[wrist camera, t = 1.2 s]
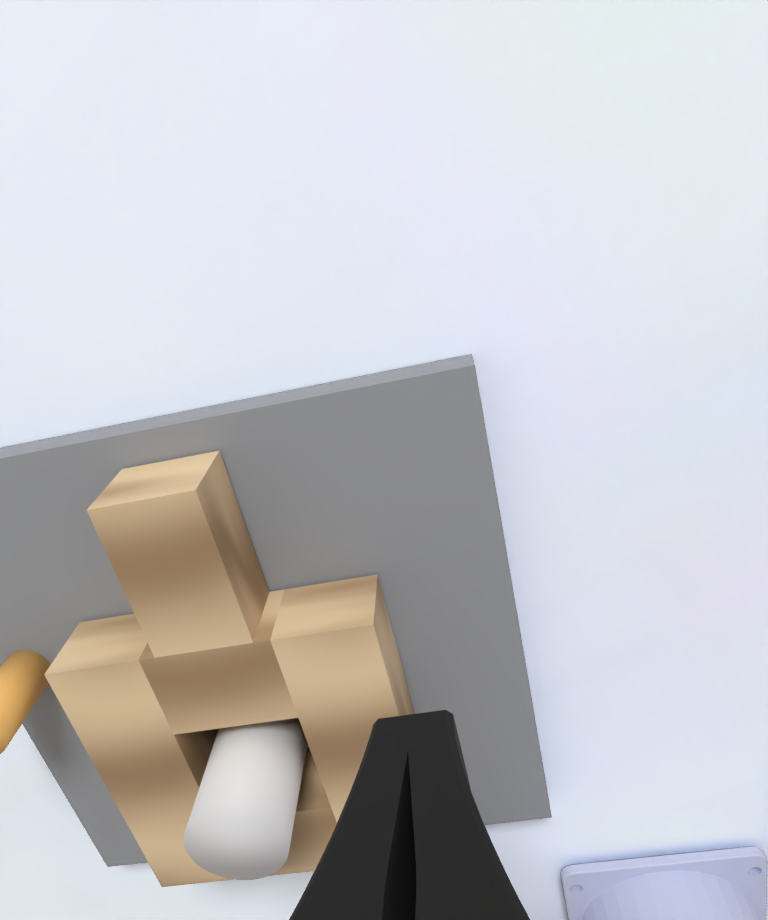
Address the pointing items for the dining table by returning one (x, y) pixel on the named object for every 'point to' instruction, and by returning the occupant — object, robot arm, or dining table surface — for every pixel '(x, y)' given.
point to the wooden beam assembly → (218, 662)
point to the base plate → (288, 586)
